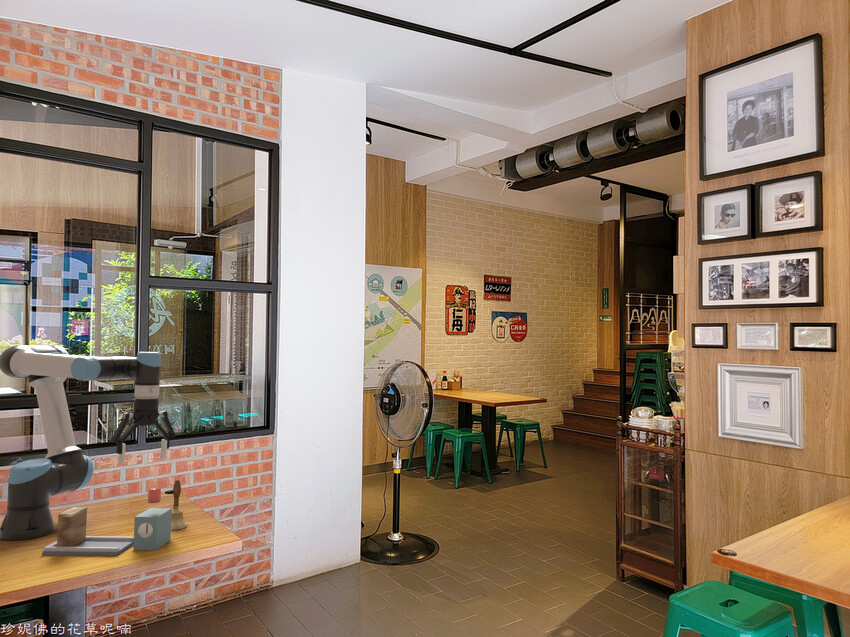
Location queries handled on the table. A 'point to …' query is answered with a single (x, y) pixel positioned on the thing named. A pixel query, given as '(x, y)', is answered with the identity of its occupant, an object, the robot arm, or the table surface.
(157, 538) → the cabinet
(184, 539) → the table surface
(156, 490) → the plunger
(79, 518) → the tan rectangular block
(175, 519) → the hand bell
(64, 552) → the track
